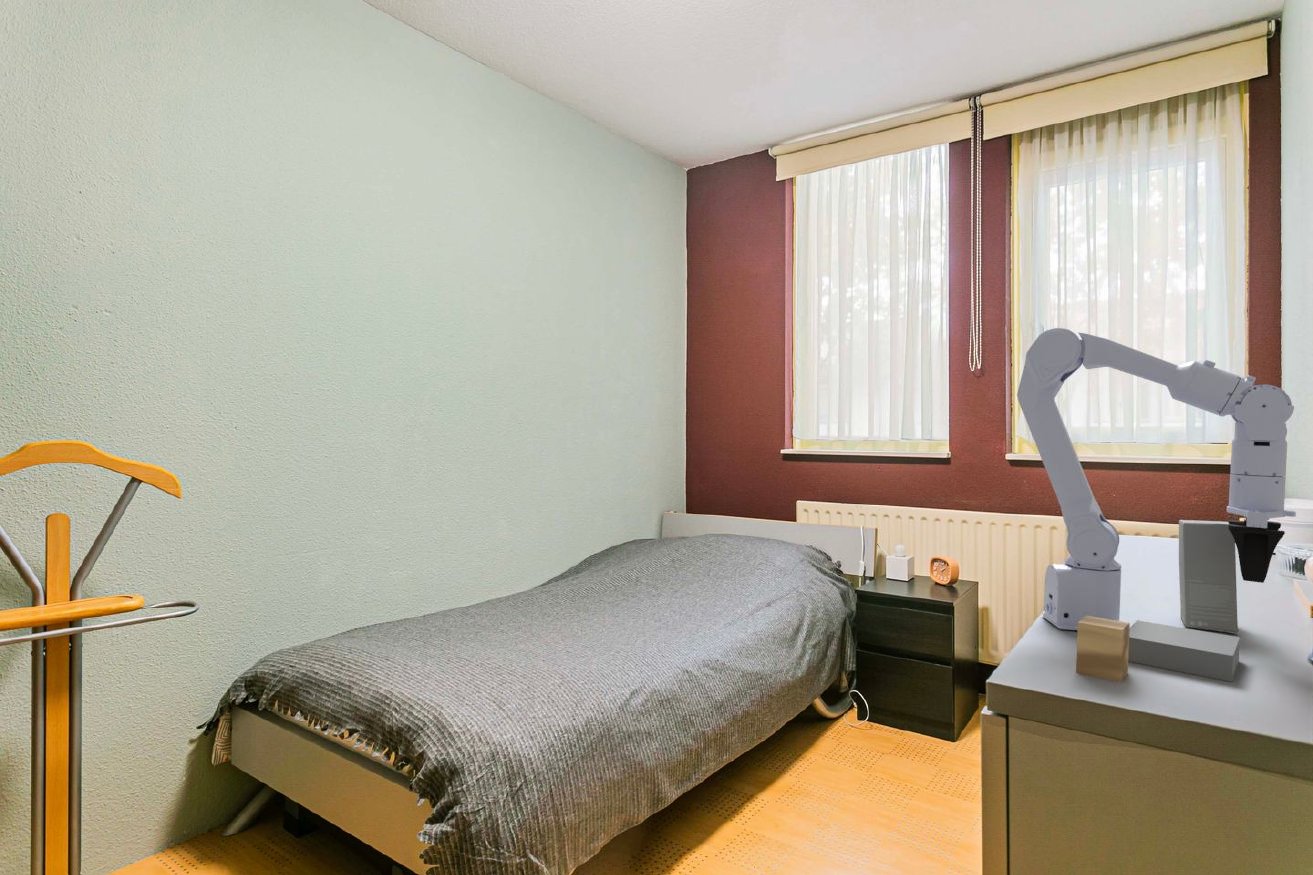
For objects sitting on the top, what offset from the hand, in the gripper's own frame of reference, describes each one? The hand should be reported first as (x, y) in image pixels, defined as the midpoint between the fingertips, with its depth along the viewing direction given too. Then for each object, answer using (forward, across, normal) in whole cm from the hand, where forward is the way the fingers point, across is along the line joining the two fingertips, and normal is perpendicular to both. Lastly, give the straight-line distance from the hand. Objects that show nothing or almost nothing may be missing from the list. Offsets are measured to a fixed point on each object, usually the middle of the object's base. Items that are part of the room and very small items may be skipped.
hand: (1252, 577), depth 98 cm
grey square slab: (+10, -12, +7) cm, 17 cm away
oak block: (+10, -25, +14) cm, 30 cm away
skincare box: (+10, +12, +5) cm, 16 cm away
